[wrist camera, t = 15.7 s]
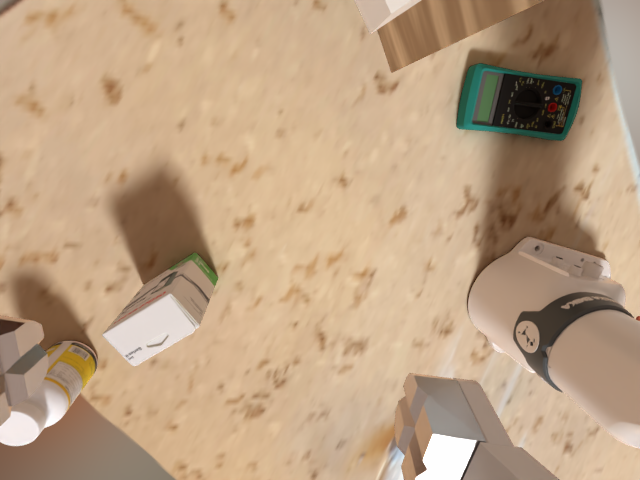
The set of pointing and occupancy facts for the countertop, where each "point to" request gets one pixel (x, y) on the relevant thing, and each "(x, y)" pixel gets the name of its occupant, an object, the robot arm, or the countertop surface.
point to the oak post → (441, 26)
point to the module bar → (382, 11)
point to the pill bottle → (51, 393)
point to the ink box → (163, 310)
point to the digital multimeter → (518, 102)
